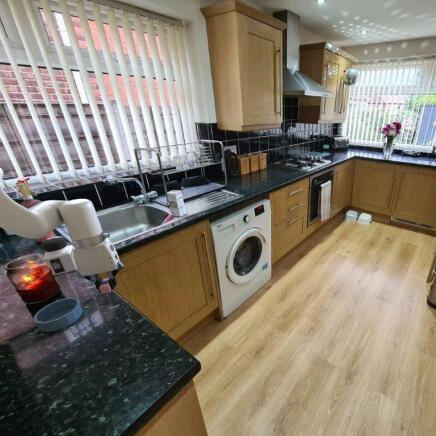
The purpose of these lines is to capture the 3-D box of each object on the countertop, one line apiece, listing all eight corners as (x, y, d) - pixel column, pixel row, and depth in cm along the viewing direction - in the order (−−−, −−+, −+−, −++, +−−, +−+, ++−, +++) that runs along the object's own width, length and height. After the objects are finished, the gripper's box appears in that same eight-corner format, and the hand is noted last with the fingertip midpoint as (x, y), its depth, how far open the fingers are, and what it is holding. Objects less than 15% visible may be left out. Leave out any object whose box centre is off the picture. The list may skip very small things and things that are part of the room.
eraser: (111, 292, 79) (108, 285, 78) (101, 294, 78) (98, 287, 77) (115, 283, 84) (112, 276, 83) (105, 285, 83) (103, 278, 82)
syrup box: (186, 213, 148) (181, 190, 142) (179, 217, 142) (175, 193, 137) (178, 212, 149) (173, 189, 143) (171, 216, 144) (166, 192, 138)
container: (77, 270, 94) (64, 240, 89) (50, 277, 90) (35, 246, 85) (79, 260, 100) (67, 232, 95) (54, 267, 96) (40, 238, 91)
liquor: (53, 242, 115) (27, 185, 104) (33, 245, 112) (4, 186, 101) (60, 235, 121) (36, 180, 110) (42, 238, 119) (15, 182, 108)
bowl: (31, 338, 66) (25, 327, 64) (49, 312, 74) (44, 302, 73) (76, 327, 69) (71, 317, 68) (88, 303, 78) (84, 294, 76)
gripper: (123, 230, 80) (137, 276, 87) (61, 239, 74) (82, 287, 82) (117, 240, 73) (134, 289, 81) (49, 251, 68) (74, 302, 75)
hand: (108, 288), depth 81 cm, fingers closed on eraser, 2 cm apart
